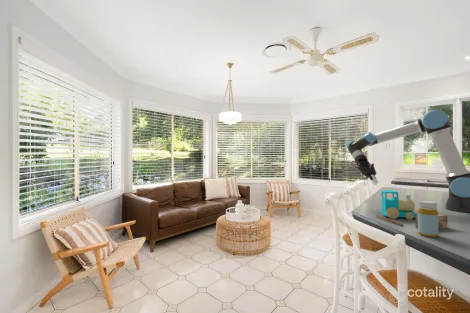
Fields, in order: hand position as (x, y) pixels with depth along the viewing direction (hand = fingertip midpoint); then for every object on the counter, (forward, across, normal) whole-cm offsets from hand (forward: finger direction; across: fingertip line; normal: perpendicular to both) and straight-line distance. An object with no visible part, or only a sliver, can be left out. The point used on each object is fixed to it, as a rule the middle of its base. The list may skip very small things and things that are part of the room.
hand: (376, 183), depth 150 cm
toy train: (+25, -1, 0) cm, 25 cm away
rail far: (+30, +12, +5) cm, 32 cm away
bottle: (+45, +10, +21) cm, 51 cm away
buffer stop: (+39, 0, +14) cm, 41 cm away
